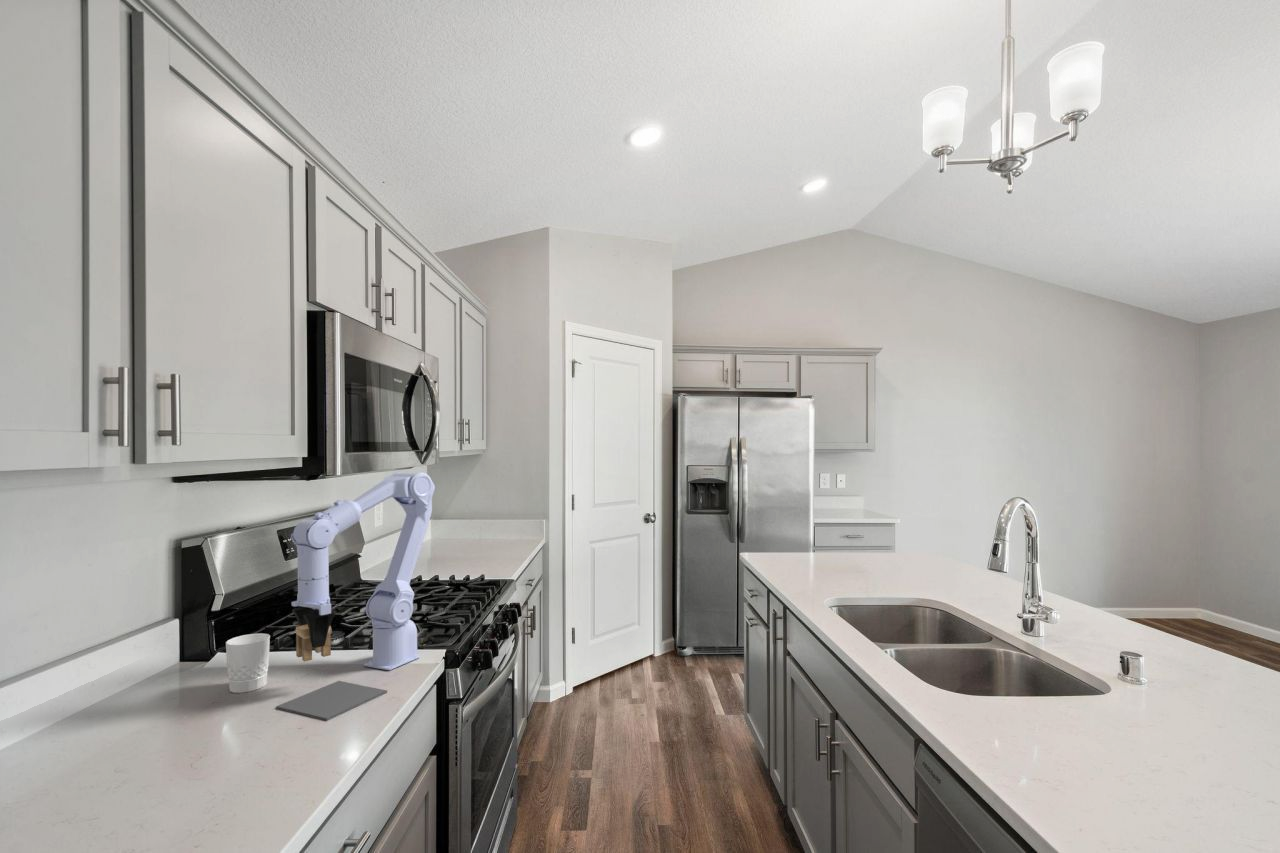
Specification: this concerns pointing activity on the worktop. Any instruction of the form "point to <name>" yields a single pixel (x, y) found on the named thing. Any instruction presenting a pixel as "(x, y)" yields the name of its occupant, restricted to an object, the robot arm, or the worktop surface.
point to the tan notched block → (310, 644)
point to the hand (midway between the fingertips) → (313, 643)
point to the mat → (331, 700)
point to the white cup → (247, 662)
